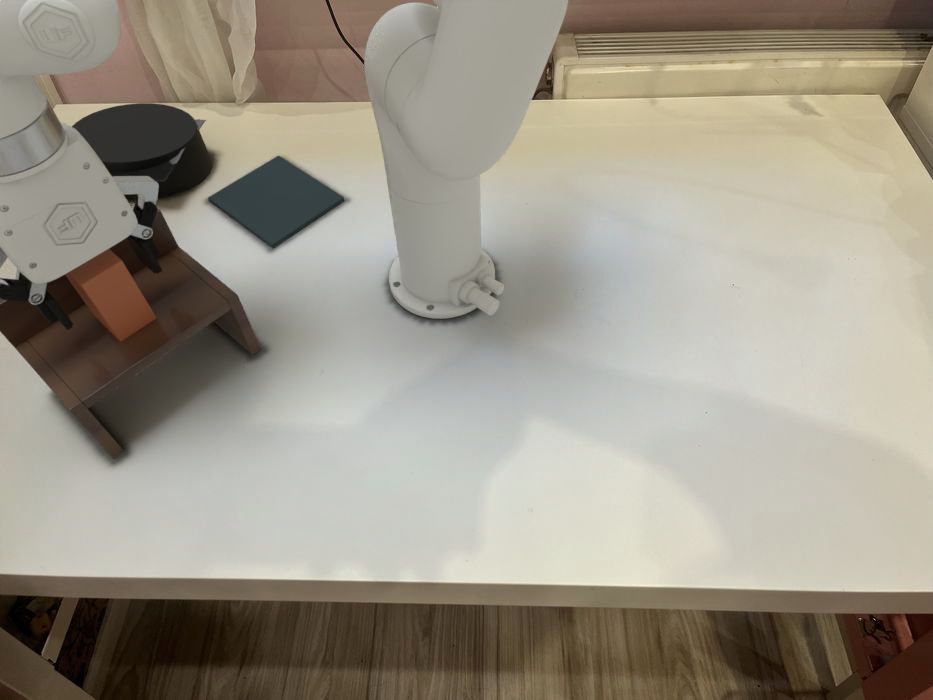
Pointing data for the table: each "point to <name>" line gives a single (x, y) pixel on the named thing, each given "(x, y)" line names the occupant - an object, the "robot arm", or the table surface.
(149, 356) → the bench
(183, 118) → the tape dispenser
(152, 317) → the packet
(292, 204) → the mat
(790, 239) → the table surface
